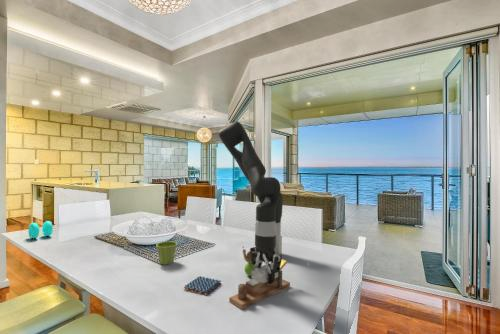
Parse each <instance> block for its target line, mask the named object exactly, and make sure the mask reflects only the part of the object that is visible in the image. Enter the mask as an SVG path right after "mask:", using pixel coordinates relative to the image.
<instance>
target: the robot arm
mask: <svg viewBox="0 0 500 334" xmlns="http://www.w3.org/2000/svg"><path fill="white" fill-rule="evenodd" d="M218 137H219V138H220V140H221V142H222V143H223V145H224V146H225V148H226V150H227V151H228V152H229V153H230V155H231V156H232V157H233V159H234V160H235V162H236V164H237V165H238V166H239V168H240V170H241V172H242V174H243V175H244V177H245V178H246V180H247V181H248V183H249V184H250V190H251V192H252V194H253V195H255V197H257V199H258V201H259V203H258V204H257V205H256V208H255V226H254V246H253V247H250V248H249V251H250V253H251V263H252V264H254V265H255V267H256V268H257V267H260V266H263V262H264V265H266V267H267V268H268V271H269V273H268V284H272V283H274V281H275V273H277V272H279V271H280V266H281V260H282V259H283V257H282V254H283V253H282V249H283V248H282V245H283V244H282V243H283V236H282V235H281V231H282V230H281V229H282V228H281V227H282V218H283V217H282V216H283V204H284V199H283V194H282V192H281V183H280V181H279V179H277V178H276V177H273V176H272V177H271V176H270V177H269V176H268V177H267V176H266V177H265V175H266V173H267V172H266V171H267V170H266V167H265V165H264V164H263V162H262V161H261V159H260V157H259V156H258V154H257V152H256V150H255V148H254V145H253V143H252V140H251V139H250V137H249V134H248V133H247V131H246V129H245V128H244V126H243V125H242V124H241V122H240V121H237V120H236V121H233V122H232V123H230V124H228V125H226V126H225V127H223V128H222V129H220V130H219V131H218ZM241 143H242V151H240V150H239V149H238V148H237V147H236V146H238V145H240V144H241ZM254 257H255V260H254ZM271 267H272V269H271Z"/></svg>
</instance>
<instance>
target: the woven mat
mask: <svg viewBox="0 0 500 334" xmlns="http://www.w3.org/2000/svg"><path fill="white" fill-rule="evenodd" d="M221 282H222V280H219V279H215V278H210V277H205V276H201V275H200V276H197V277H196V278H195V279H194V280H192V281H190V282H189V283H187V284H185V285H184V286H183V291H187V292H189V293H190V292H192V293H195V294H199V295H202V296H203V295H205V296H209V294H210V293H211V292H213V291H214V290H216V288H218V287H219V286H220V285H222V283H221Z"/></svg>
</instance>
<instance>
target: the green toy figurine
mask: <svg viewBox="0 0 500 334" xmlns="http://www.w3.org/2000/svg"><path fill="white" fill-rule="evenodd" d="M244 248H245V246H242V253H243V259H244V261H245V262H247V263H246V264H245V267H244V272H245V274H246V275H247V276H248V277H251V276H252V269H255V268H256V267H255V265H254V264H252V263H251V253H250V250H249V251H248V252H247V250H246V249H244ZM254 260H255V257H254Z"/></svg>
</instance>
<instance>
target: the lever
mask: <svg viewBox="0 0 500 334" xmlns="http://www.w3.org/2000/svg"><path fill="white" fill-rule="evenodd" d="M287 264H288V262H287V260H285V259H283V258H282V260H281V266H280V270H283V268H284V267H285V266H286V265H287ZM278 274H279V272H278Z"/></svg>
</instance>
